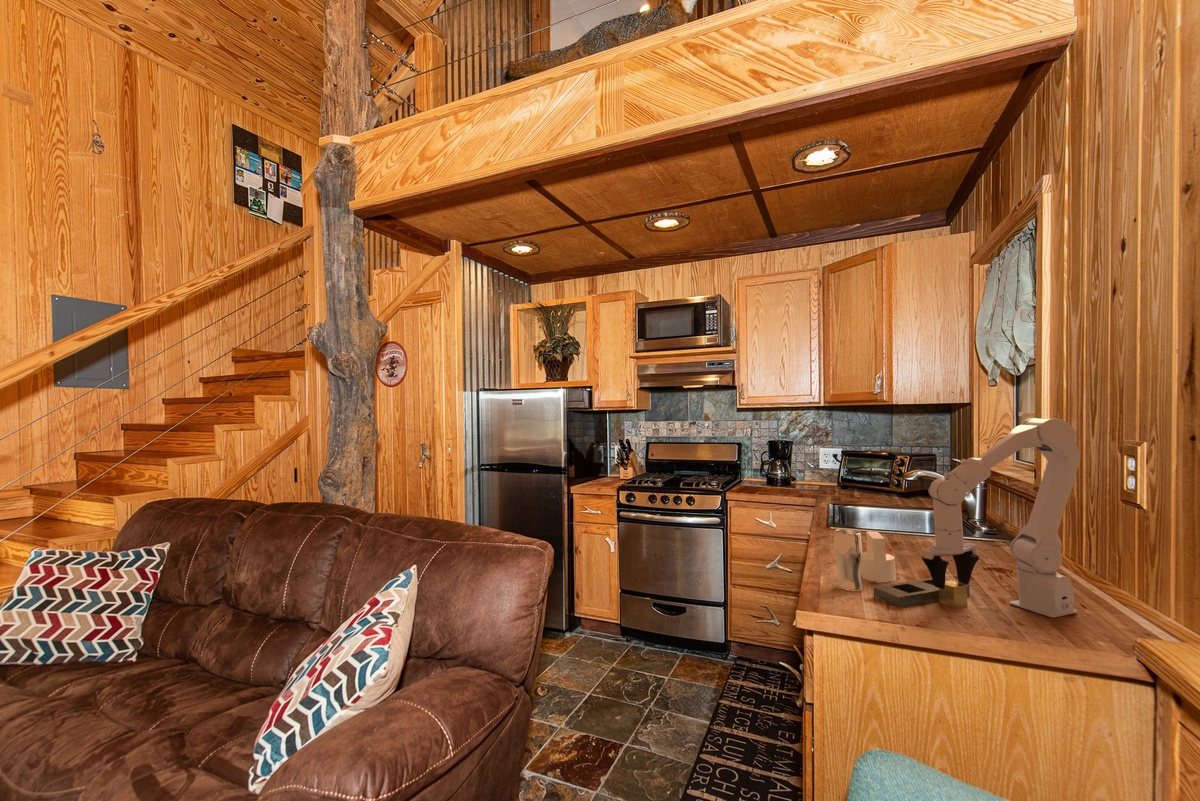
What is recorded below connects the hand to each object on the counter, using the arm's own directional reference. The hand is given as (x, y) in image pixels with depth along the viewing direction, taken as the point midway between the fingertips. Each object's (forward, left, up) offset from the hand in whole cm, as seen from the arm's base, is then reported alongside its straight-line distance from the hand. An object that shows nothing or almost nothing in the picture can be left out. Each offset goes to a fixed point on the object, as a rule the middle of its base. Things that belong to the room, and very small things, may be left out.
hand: (951, 585), depth 126 cm
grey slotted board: (+7, +2, -4) cm, 8 cm away
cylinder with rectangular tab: (+23, 0, -5) cm, 23 cm away
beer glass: (+19, +13, -5) cm, 23 cm away
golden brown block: (0, 0, -5) cm, 5 cm away
